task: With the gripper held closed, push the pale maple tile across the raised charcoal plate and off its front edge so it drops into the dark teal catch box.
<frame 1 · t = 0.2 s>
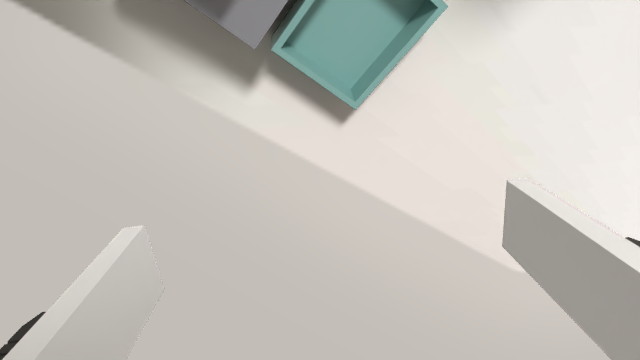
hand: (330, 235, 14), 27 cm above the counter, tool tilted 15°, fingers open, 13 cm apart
catch box: (352, 17, 35), on the counter
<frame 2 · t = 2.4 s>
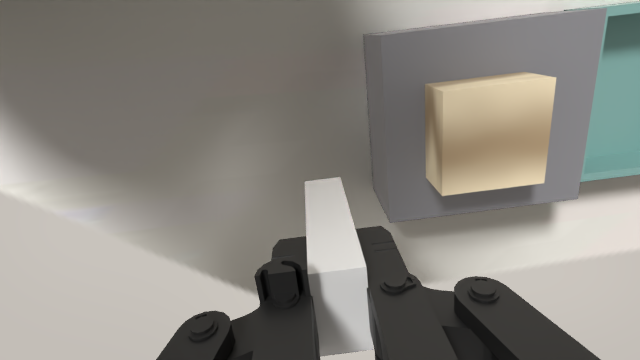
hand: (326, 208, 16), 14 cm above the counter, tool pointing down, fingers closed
catch box: (617, 86, 29), on the counter
tile: (472, 127, 24), point 6 cm above the counter, touching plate
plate: (452, 107, 29), on the counter
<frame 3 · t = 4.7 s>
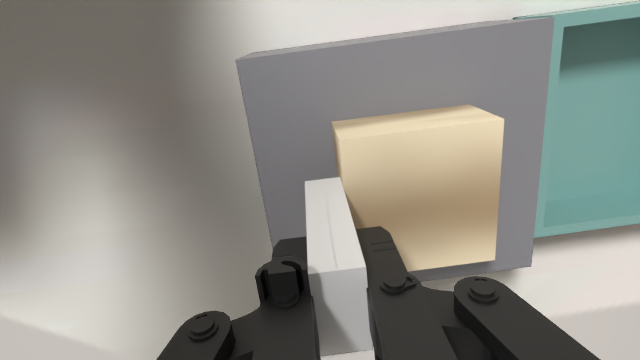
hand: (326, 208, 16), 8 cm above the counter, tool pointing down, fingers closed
catch box: (587, 113, 23), on the counter
tile: (402, 177, 17), point 6 cm above the counter, touching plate
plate: (376, 141, 23), on the counter
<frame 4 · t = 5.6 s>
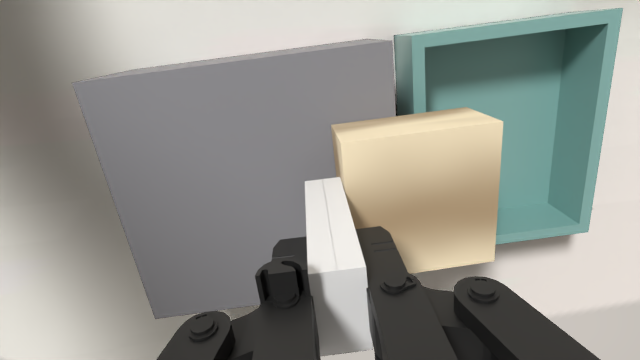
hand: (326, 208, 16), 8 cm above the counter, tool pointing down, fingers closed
catch box: (479, 129, 23), on the counter
tile: (401, 179, 18), point 6 cm above the counter, touching gripper, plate
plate: (268, 157, 23), on the counter
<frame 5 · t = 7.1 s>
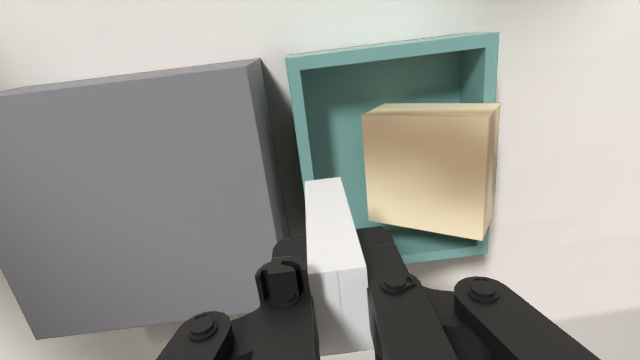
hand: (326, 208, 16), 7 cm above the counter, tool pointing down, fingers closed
catch box: (383, 148, 23), on the counter
tile: (420, 176, 19), point 5 cm above the counter, tilted 145°, touching catch box
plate: (170, 174, 23), on the counter
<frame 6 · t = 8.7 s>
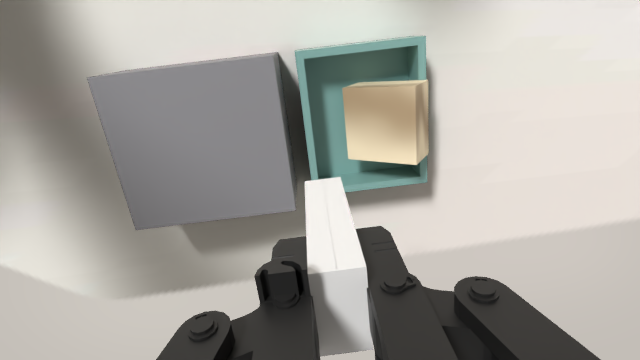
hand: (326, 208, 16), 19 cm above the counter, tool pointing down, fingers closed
catch box: (359, 113, 34), on the counter
tile: (378, 125, 30), point 5 cm above the counter, tilted 145°, touching catch box
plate: (216, 130, 34), on the counter
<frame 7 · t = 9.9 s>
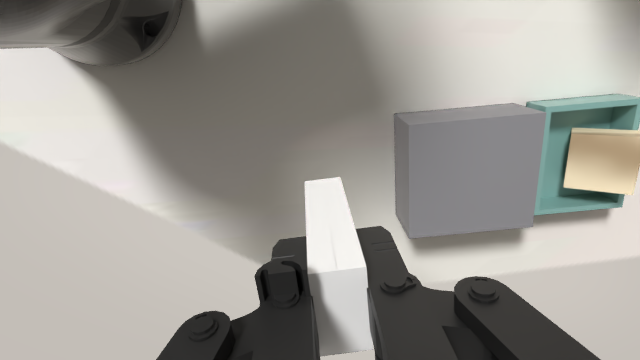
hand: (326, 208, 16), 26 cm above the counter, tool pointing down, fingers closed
catch box: (564, 150, 43), on the counter
tile: (601, 164, 39), point 5 cm above the counter, tilted 145°, touching catch box
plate: (451, 161, 43), on the counter
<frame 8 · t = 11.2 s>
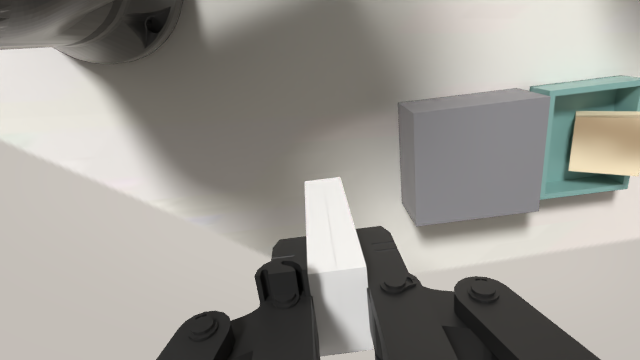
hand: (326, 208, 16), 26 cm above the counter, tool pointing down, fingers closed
catch box: (568, 134, 43), on the counter
tile: (606, 146, 39), point 5 cm above the counter, tilted 145°, touching catch box
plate: (456, 148, 43), on the counter
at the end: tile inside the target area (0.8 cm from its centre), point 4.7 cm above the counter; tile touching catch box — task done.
